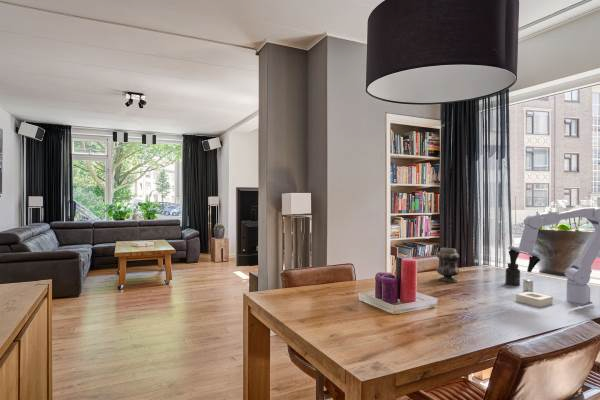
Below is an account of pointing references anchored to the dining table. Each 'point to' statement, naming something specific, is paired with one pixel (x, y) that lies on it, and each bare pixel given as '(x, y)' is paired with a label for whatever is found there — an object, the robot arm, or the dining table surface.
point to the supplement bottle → (512, 275)
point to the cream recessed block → (533, 299)
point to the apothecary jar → (447, 264)
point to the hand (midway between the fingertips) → (520, 269)
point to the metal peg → (527, 285)
